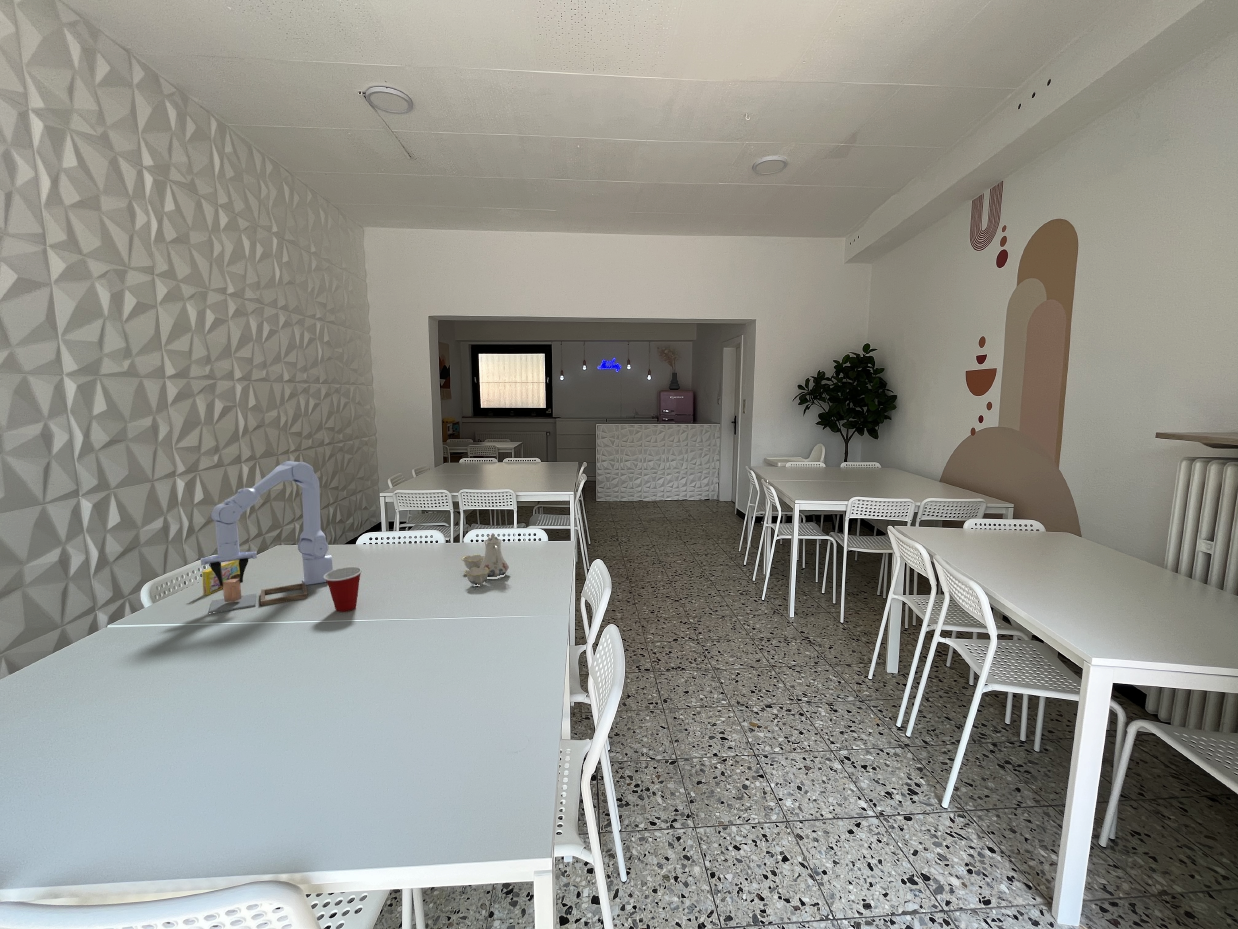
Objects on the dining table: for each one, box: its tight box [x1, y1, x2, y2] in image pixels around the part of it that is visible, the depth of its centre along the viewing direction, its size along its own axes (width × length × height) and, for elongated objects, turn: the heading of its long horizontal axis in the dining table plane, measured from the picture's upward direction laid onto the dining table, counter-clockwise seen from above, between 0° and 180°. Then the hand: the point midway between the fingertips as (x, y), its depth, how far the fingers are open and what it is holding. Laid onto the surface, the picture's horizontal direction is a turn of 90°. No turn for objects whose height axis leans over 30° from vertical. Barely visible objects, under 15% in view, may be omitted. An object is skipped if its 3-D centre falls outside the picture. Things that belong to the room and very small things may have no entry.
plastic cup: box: [324, 566, 362, 613], centre depth 175 cm, size 11×11×12 cm
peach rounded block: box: [222, 579, 243, 602], centre depth 179 cm, size 6×5×6 cm
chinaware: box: [461, 533, 510, 587], centre depth 205 cm, size 28×17×17 cm, turn 24°
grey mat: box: [208, 593, 257, 614], centre depth 180 cm, size 12×12×1 cm
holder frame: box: [260, 582, 308, 606], centre depth 188 cm, size 13×13×2 cm
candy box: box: [201, 560, 240, 596], centre depth 196 cm, size 16×2×8 cm, turn 179°
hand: (231, 583), depth 180 cm, fingers closed on peach rounded block, 5 cm apart
